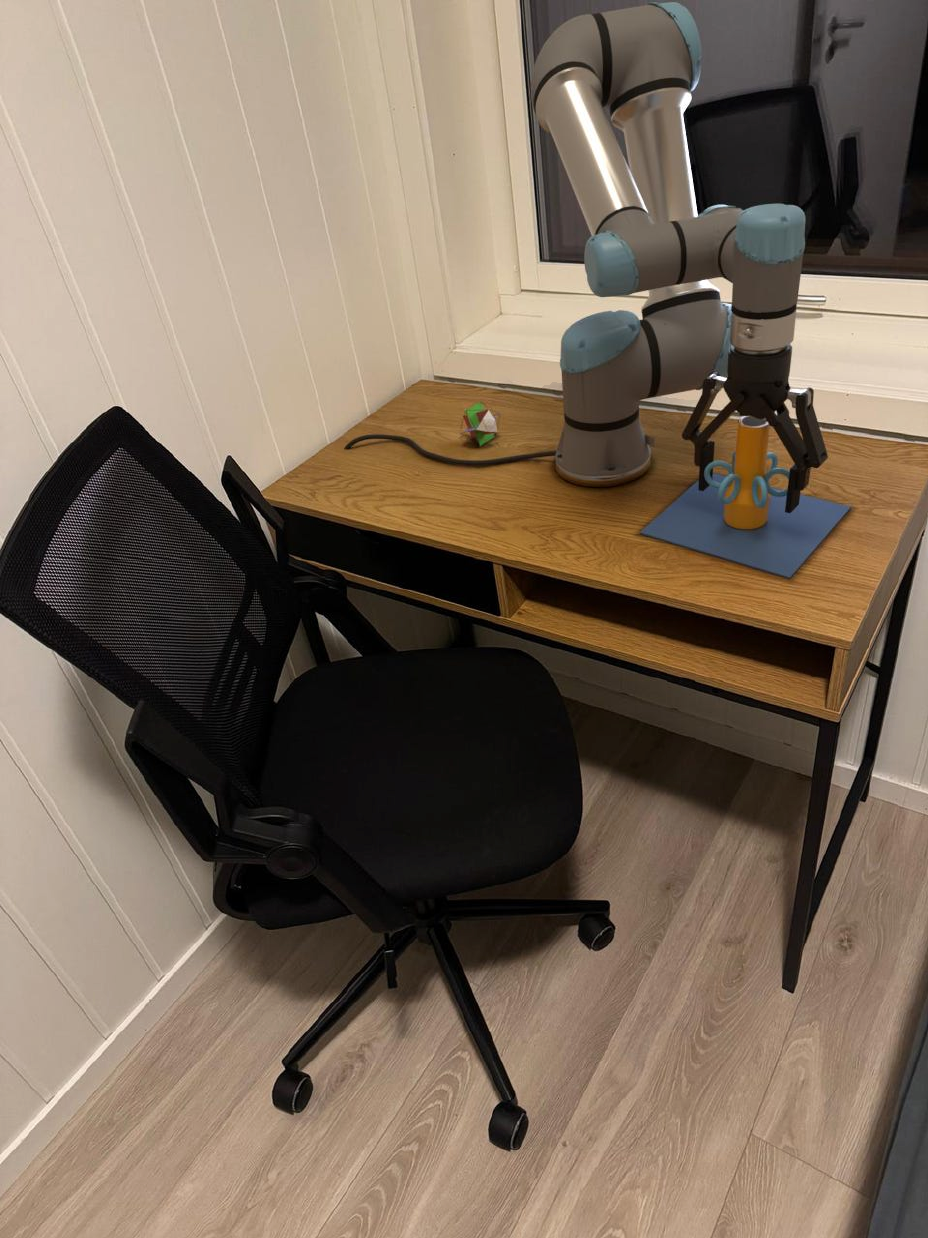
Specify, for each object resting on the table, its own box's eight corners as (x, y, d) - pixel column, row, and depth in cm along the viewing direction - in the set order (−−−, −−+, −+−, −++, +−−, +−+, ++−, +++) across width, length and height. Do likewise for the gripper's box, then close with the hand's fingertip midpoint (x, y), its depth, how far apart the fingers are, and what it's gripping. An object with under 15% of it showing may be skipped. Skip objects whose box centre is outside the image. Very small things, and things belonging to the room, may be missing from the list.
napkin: (639, 533, 121) (639, 532, 121) (707, 473, 133) (707, 471, 132) (789, 579, 109) (790, 577, 109) (851, 508, 120) (851, 506, 120)
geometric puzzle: (445, 431, 151) (461, 402, 145) (470, 415, 155) (487, 386, 149) (473, 460, 151) (490, 432, 144) (497, 443, 155) (515, 416, 148)
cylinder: (695, 503, 125) (700, 408, 116) (765, 493, 125) (775, 396, 116) (722, 547, 116) (729, 447, 107) (798, 536, 116) (812, 434, 107)
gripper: (658, 341, 110) (656, 488, 123) (847, 369, 96) (823, 532, 109) (687, 322, 114) (682, 466, 127) (872, 346, 100) (846, 506, 113)
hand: (747, 497), depth 118 cm, fingers closed on cylinder, 12 cm apart
